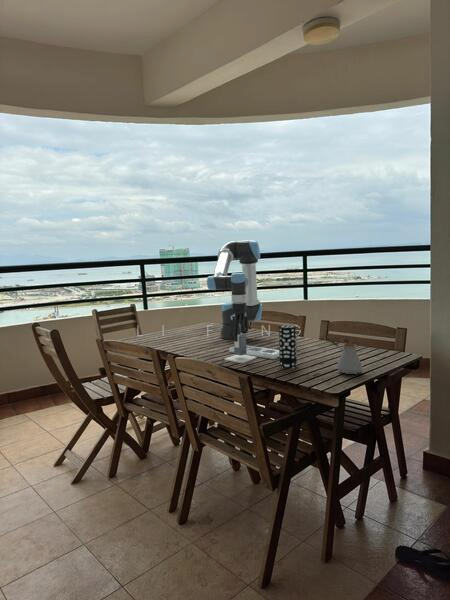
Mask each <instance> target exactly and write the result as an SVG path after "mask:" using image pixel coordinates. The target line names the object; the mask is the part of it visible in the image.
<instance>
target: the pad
mask: <svg viewBox="0 0 450 600" xmlns="http://www.w3.org/2000/svg"><path fill="white" fill-rule="evenodd" d="M256 359H257V357H256V356H250V355H235V354H234V355H231V356H228V357H225V358H224V361H227V362H234V363H238V364H245V363H248V362H250V361H252V360H253V361H254V360H256Z"/></svg>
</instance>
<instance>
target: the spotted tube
mask: <svg viewBox="0 0 450 600" xmlns="http://www.w3.org/2000/svg"><path fill="white" fill-rule="evenodd" d="M278 347H279V348H278V350H279V358H278V359H279V368H281V367H283V368H282V369H284V368H292V369H295V368H294V367H296V366H298V365H297V364H298V362H297V361H298V360H297V358H298V357H297V325H294V324H281V325H279V326H278ZM296 368H297V367H296Z"/></svg>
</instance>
